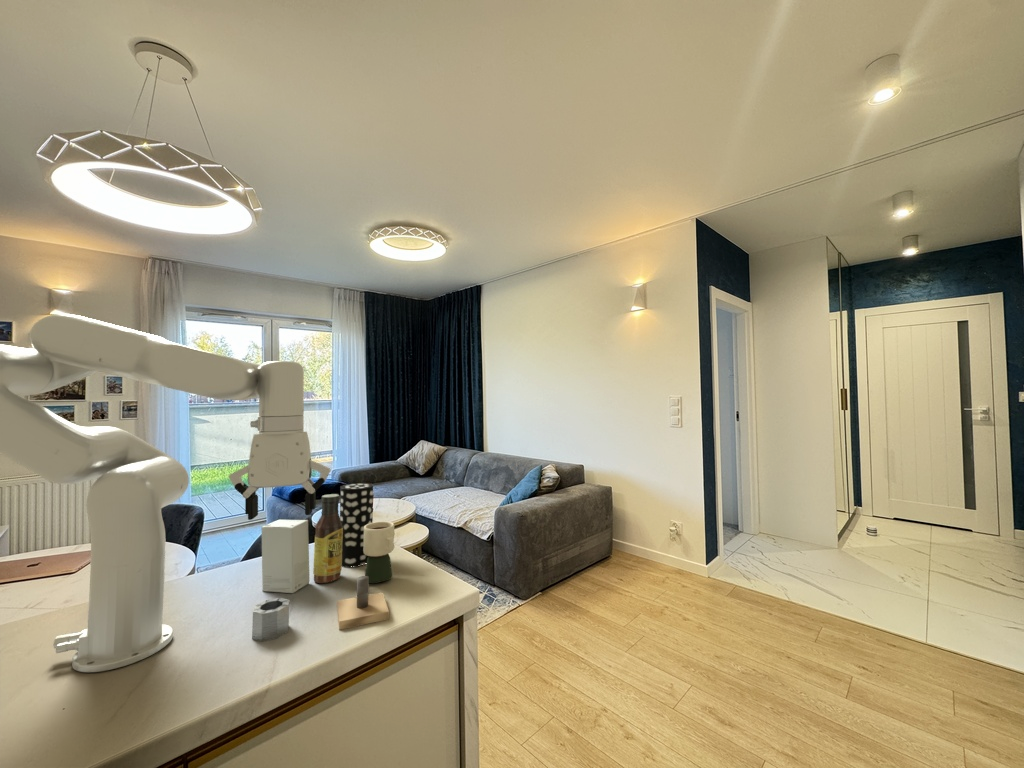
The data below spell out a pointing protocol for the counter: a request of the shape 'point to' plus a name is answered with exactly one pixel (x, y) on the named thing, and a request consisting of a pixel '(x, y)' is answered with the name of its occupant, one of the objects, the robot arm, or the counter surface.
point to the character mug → (378, 550)
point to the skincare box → (285, 556)
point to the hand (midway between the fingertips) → (281, 515)
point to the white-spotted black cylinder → (355, 521)
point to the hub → (270, 619)
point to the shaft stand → (362, 607)
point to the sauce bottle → (328, 542)
